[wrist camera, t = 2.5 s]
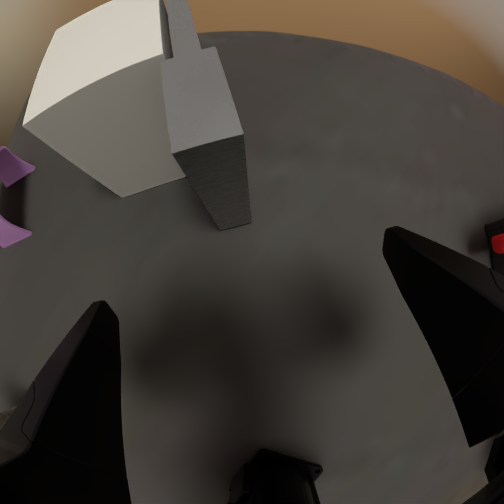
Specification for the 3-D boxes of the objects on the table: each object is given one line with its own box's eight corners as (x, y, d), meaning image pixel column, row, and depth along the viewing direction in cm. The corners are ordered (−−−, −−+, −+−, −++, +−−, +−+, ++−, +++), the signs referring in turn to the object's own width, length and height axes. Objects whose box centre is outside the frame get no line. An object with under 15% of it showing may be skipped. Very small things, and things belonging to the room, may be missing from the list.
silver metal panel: (251, 222, 20) (243, 134, 8) (220, 230, 20) (171, 153, 8) (211, 78, 22) (190, -24, 10) (188, 84, 22) (155, -15, 10)
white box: (210, 169, 21) (166, 52, 9) (122, 198, 21) (22, 125, 8) (190, 79, 23) (159, -22, 10) (118, 105, 23) (60, 23, 10)
